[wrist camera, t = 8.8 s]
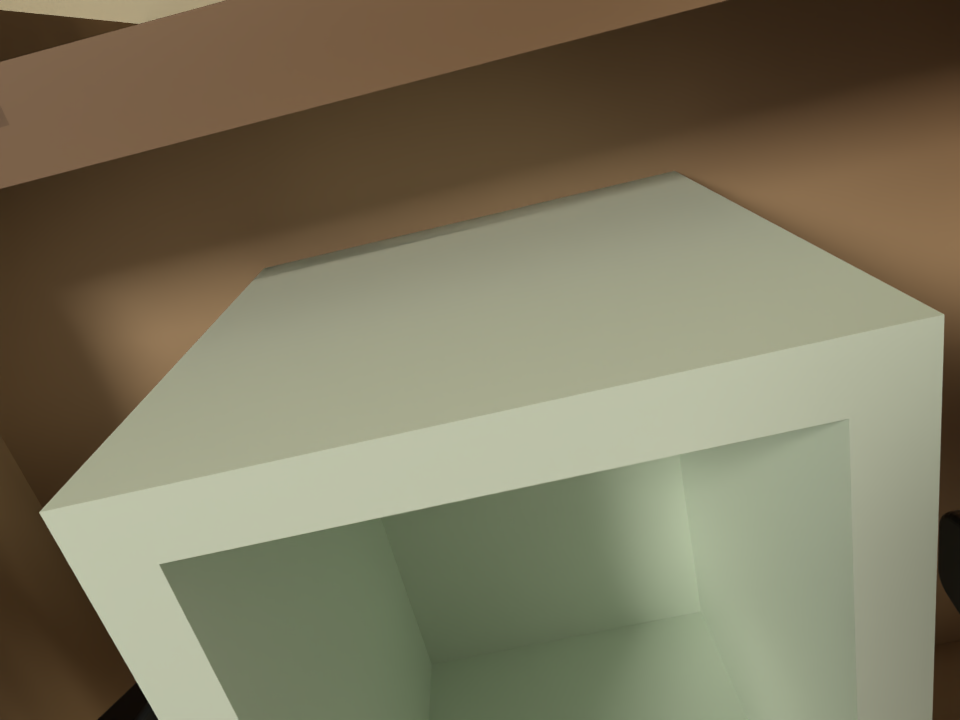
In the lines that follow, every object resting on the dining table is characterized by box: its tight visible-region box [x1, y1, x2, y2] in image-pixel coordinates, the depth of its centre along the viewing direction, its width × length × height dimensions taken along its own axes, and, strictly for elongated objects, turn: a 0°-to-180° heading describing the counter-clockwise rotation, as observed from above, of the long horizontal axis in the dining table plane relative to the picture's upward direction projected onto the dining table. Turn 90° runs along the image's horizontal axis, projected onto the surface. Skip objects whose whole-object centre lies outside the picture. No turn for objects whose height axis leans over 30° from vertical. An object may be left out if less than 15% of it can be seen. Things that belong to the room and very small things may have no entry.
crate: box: [0, 0, 960, 720], centre depth 10 cm, size 14×18×4 cm
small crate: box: [39, 171, 944, 720], centre depth 9 cm, size 8×6×6 cm
